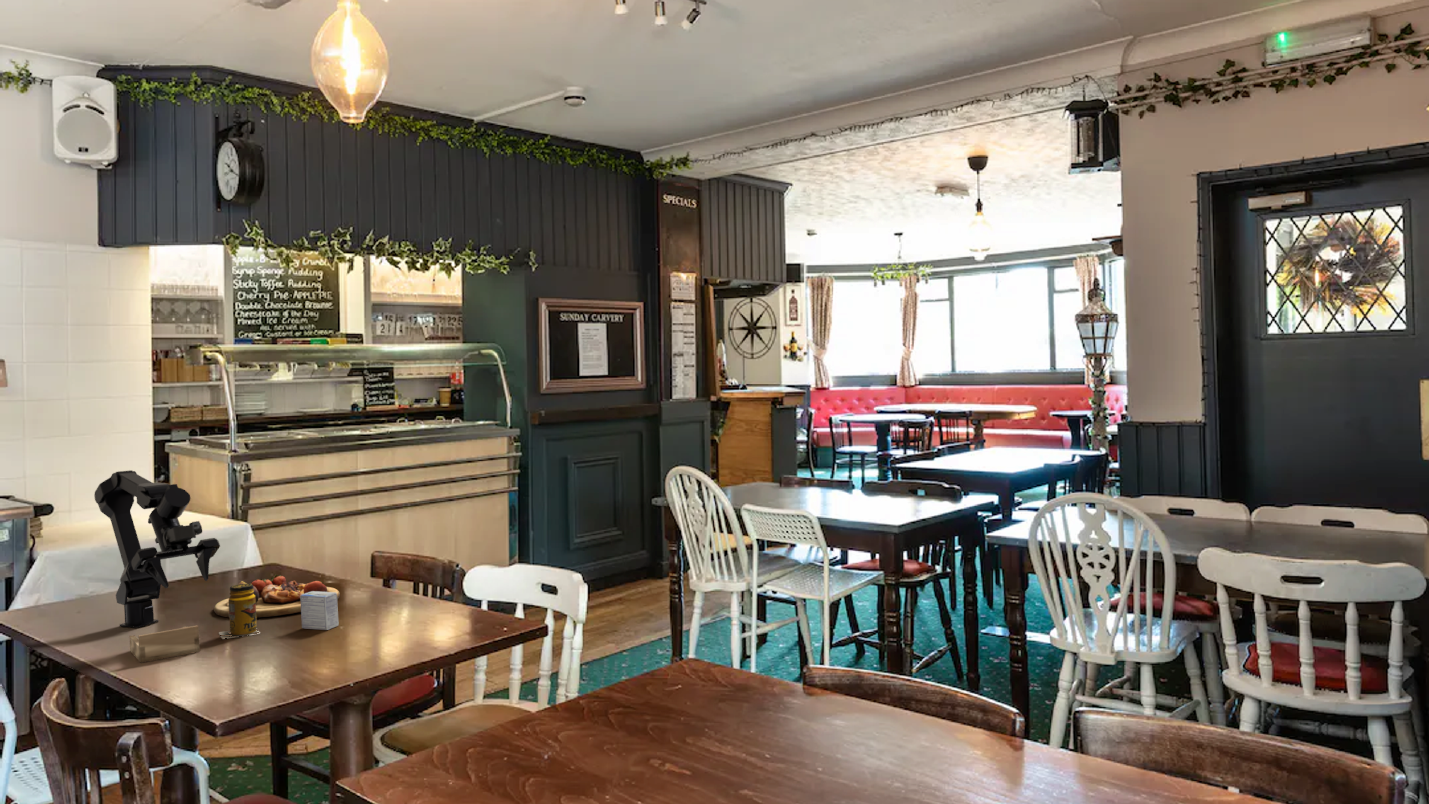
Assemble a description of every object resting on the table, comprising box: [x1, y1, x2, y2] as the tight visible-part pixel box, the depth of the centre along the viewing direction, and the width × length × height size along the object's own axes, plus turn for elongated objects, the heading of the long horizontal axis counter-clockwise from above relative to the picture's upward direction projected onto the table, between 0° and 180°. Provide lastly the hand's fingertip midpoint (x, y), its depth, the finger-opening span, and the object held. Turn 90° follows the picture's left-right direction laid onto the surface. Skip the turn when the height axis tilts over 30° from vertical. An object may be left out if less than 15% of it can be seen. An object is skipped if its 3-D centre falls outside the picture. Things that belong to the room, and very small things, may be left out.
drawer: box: [128, 625, 201, 664], centre depth 228 cm, size 13×12×6 cm
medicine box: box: [300, 591, 339, 631], centre depth 246 cm, size 8×4×9 cm, turn 71°
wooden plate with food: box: [213, 574, 341, 619], centre depth 272 cm, size 32×32×8 cm
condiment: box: [218, 583, 261, 640], centre depth 242 cm, size 7×8×12 cm
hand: (187, 583), depth 236 cm, fingers open, 9 cm apart
